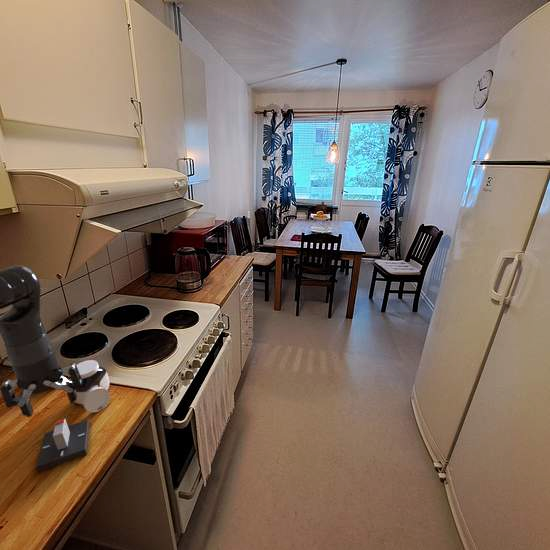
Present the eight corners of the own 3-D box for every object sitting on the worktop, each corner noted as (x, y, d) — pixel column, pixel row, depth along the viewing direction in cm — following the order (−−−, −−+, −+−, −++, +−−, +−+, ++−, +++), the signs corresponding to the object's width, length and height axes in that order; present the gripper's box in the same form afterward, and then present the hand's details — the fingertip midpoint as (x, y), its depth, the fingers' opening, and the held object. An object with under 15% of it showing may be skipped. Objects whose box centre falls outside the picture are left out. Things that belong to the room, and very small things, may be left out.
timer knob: (67, 447, 73) (62, 432, 71) (58, 450, 72) (52, 435, 70) (70, 432, 76) (64, 417, 74) (61, 435, 76) (55, 420, 74)
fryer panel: (39, 473, 69) (35, 466, 68) (47, 439, 77) (44, 432, 76) (87, 455, 73) (85, 448, 72) (90, 425, 81) (88, 418, 80)
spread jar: (94, 383, 96) (86, 355, 92) (124, 388, 94) (118, 360, 90) (64, 412, 85) (53, 381, 81) (97, 418, 84) (88, 387, 79)
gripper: (71, 336, 70) (87, 387, 76) (-5, 353, 64) (19, 407, 70) (67, 354, 64) (85, 408, 70) (-17, 374, 58) (10, 431, 64)
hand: (52, 407), depth 70 cm, fingers open, 8 cm apart
